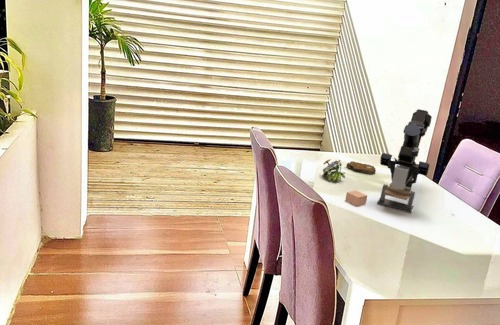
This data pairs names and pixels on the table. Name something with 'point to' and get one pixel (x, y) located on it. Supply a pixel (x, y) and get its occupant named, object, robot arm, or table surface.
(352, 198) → the plinth
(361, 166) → the decorative rock
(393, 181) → the slate block
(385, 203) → the trapdoor frame
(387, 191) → the trapdoor
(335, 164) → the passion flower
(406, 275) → the table surface
